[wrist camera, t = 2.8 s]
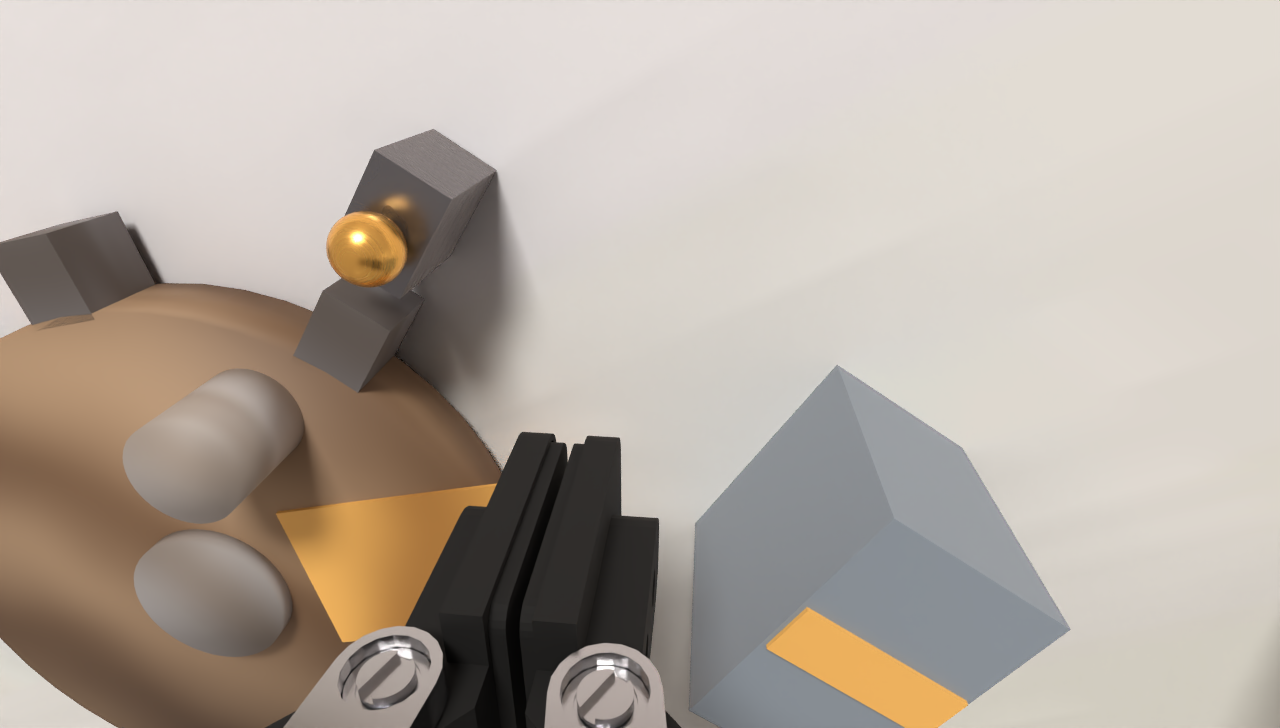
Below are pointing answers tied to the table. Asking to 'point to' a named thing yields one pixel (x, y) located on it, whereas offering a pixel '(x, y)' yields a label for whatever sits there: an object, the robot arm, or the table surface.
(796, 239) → the table surface
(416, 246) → the block with gold knob
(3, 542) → the sprocket
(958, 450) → the link block
